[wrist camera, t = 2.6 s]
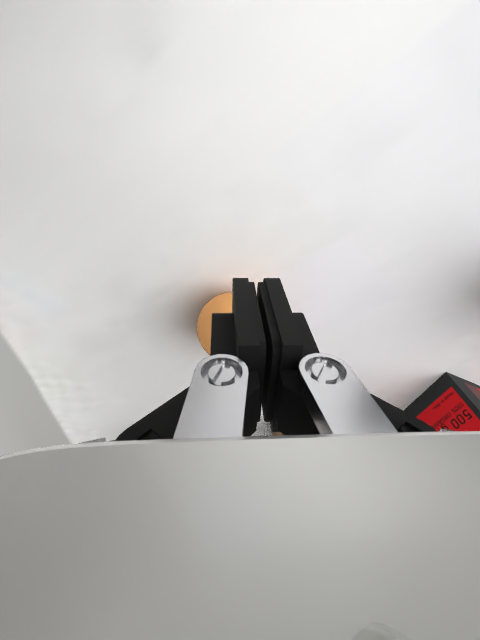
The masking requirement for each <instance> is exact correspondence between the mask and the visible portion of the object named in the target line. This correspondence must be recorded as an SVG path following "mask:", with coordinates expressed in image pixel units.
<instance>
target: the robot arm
mask: <svg viewBox="0 0 480 640" xmlns="http://www.w3.org/2000/svg"><path fill="white" fill-rule="evenodd" d="M261 404H262V409H263V416H264V421H265V422H270V423H271V429H272V432H281V433H282V434H284V435H282V436H251V435H252V434H253V433H254V432H255V431H256V427H257V422H260V415H261ZM0 640H480V431H453V430H447V429H440V431H439V432H437V431H436V430H435V429H434V428H433V427H431V426H430V425H428V424H427V423H425V422H423V421H422V420H420V419H418V418H416V417H414V416H412V415H410V414H408V413H406V412H404V411H402V410H401V409H399V408H397V407H395V406H393V405H391V404H389V403H387V402H385V401H383V400H381V399H380V398H378V397H376V396H374V395H372V394H370V393H369V392H368V391H367V389H366V388H365V387H364V385H363V384H362V383H361V381H360V380H359V379H358V377H357V376H356V375H355V373H354V372H353V370H352V369H351V368H350V366H349V365H348V364H347V363H346V362H345V361H343V360H341V359H340V358H338V357H336V356H333V355H330V354H325V353H319V350H318V348H317V345H316V343H315V341H314V338H313V336H312V333H311V331H310V329H309V326H308V324H307V321H306V319H305V317H304V315H303V313H292V311H291V308H290V305H289V303H288V300H287V297H286V295H285V292H284V289H283V286H282V284H281V281H280V279H279V278H264V280H263V282H258V287H257V295H256V290H255V285H254V282H249V281H248V278H233V288H232V313H212V323H211V349H210V356H209V357H207V358H205V359H203V360H202V361H201V362H199V363H198V365H197V367H196V368H195V371H194V374H193V378H192V381H191V384H190V386H189V387H188V388H186V389H185V390H184V391H182V392H181V393H179V394H178V395H176V396H175V397H173V398H172V399H170V400H169V401H167V402H166V403H164V404H163V405H161V406H160V407H158V408H157V409H155V410H154V411H153V412H151V413H150V414H148V415H147V416H145V417H144V418H142V419H141V420H139V421H138V422H136V423H135V424H133V425H132V426H130V427H129V428H127V429H126V430H125V431H124V432H123V433H121V434H120V435H119V436H118V437H117V439H116V440H113V441H108V442H106V438H101V439H96V440H92V441H87V442H82V443H78V444H66V445H55V446H49V447H42V448H35V449H29V450H24V451H20V452H16V453H11V454H7V455H3V456H0Z"/></svg>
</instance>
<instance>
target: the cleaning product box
mask: <svg viewBox="0 0 480 640" xmlns="http://www.w3.org/2000/svg"><path fill="white" fill-rule="evenodd" d="M404 412H406V413H408V414H410V415H412V416H414V417H416V418H418V419H420V420H422V421H423V422H425V423H427V424H428V425H430V426H431V427H433V428H434V429H435V430H436V431H437V432H439V431H440V429H447V430H453V431H480V386H479V385H476V384H474V383H471V382H469V381H467V380H464V379H462V378H459V377H457V376H454V375H452V374H450V373H447V372H446V373H444V374H443V375H442V376H441V377H440V378H439V379H438V380H437V381H436V382H435V383H433V384H432V385H431V386H430V387H429V388H428V389H427V390H426V391H425V392H424V393H422V394H421V395H420V396H419V397H418V398H417V399H416V400H415V401H414V402H413V403H411V404H410V405H409V406H408V407H407V408H406V409H405V410H404Z"/></svg>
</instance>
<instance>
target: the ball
mask: <svg viewBox="0 0 480 640" xmlns="http://www.w3.org/2000/svg"><path fill="white" fill-rule="evenodd" d="M212 313H232V292H228V293H223V294H220V295H218V296H216V297H214V298H212V299H211V300H210V301H209V302H208V303H207V304H206V305H205V306H204V307H203V309H202V310H201V312H200V314H199V317H198V322H197V335H198V338H199V341H200V343H201V345H202V347H203V348H204V350H205V351H206V352H207V353H208V354H209V355H210V349H211V323H212Z"/></svg>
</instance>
